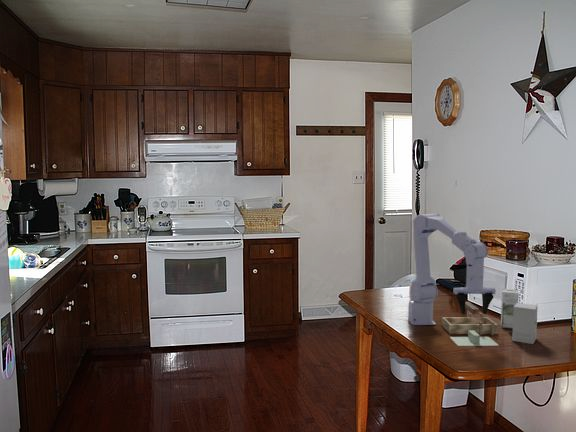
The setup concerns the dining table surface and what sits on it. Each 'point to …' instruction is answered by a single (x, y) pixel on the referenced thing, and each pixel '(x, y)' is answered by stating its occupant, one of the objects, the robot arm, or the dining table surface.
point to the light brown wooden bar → (471, 308)
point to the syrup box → (508, 307)
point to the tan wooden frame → (469, 325)
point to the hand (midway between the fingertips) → (473, 313)
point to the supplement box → (524, 323)
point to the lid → (474, 340)
